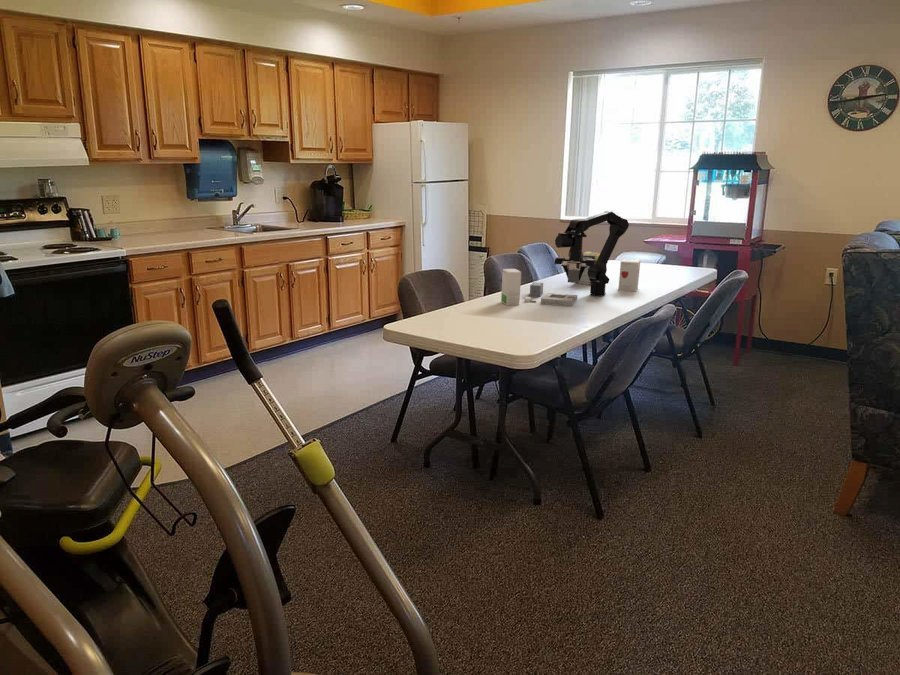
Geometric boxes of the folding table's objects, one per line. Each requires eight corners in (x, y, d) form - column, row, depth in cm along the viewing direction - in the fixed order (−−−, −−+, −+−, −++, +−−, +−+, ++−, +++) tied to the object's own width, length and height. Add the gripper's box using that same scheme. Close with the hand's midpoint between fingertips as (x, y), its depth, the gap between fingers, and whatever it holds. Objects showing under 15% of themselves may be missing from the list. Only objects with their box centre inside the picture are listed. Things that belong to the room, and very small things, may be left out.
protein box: (603, 281, 354) (605, 252, 349) (593, 285, 341) (595, 256, 337) (585, 279, 359) (586, 251, 355) (574, 283, 347) (576, 254, 342)
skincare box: (500, 302, 301) (501, 268, 297) (514, 301, 302) (515, 268, 298) (506, 305, 293) (507, 271, 289) (520, 305, 295) (521, 271, 290)
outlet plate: (577, 300, 305) (577, 294, 304) (571, 306, 293) (571, 300, 292) (548, 297, 310) (548, 292, 309) (540, 303, 298) (541, 298, 297)
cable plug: (537, 301, 303) (537, 297, 302) (535, 302, 300) (535, 299, 299) (526, 300, 304) (526, 297, 304) (524, 301, 302) (524, 298, 301)
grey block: (580, 281, 311) (580, 267, 309) (578, 283, 306) (579, 269, 304) (569, 280, 312) (570, 266, 311) (567, 282, 308) (568, 268, 306)
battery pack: (542, 293, 321) (543, 282, 319) (540, 297, 312) (540, 285, 311) (532, 293, 322) (533, 282, 320) (529, 296, 314) (530, 285, 312)
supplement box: (617, 290, 329) (620, 261, 325) (620, 287, 337) (622, 258, 333) (636, 291, 326) (638, 262, 322) (638, 288, 334) (640, 259, 330)
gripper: (598, 246, 309) (596, 278, 313) (560, 243, 315) (558, 275, 320) (594, 248, 299) (592, 282, 303) (555, 246, 305) (553, 279, 310)
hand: (574, 279), depth 309 cm, fingers closed on grey block, 5 cm apart
